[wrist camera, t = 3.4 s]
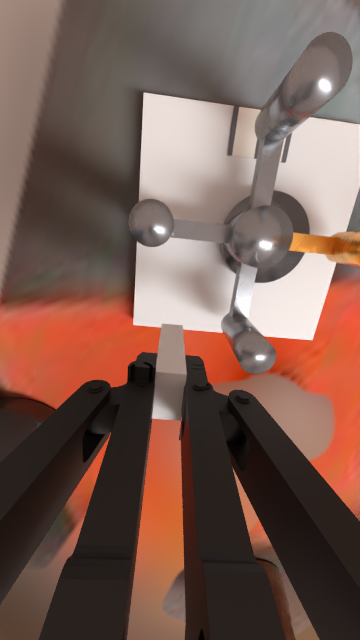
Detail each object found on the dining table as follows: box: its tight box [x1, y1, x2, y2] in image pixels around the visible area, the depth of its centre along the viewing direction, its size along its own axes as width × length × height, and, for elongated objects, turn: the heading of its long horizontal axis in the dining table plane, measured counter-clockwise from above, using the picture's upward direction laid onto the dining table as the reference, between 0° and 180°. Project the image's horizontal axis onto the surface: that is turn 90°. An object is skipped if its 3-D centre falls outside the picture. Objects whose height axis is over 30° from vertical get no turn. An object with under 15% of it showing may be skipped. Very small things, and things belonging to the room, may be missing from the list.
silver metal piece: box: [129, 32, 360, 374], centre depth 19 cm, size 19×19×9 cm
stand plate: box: [133, 93, 360, 340], centre depth 24 cm, size 20×20×2 cm
